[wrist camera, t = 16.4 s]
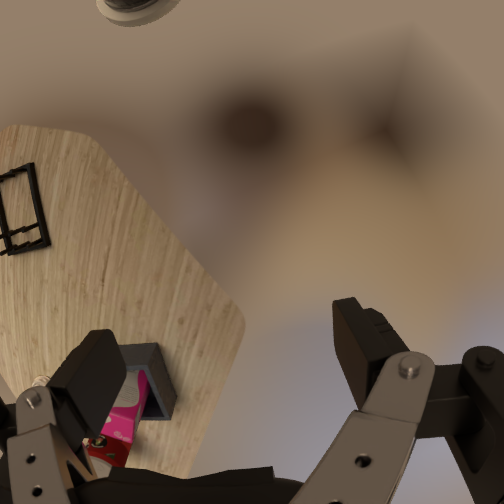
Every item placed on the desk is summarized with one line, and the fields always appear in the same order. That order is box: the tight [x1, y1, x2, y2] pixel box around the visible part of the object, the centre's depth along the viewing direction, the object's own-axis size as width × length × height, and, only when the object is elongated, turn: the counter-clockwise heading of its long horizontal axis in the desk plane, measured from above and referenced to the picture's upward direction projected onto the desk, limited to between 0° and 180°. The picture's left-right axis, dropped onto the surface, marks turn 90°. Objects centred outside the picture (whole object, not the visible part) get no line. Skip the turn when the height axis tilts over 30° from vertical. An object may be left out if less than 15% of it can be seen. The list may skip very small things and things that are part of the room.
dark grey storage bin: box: [118, 343, 177, 420], centre depth 42 cm, size 11×11×6 cm
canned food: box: [86, 433, 132, 478], centre depth 44 cm, size 8×8×11 cm
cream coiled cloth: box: [32, 376, 50, 387], centre depth 44 cm, size 8×7×5 cm
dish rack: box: [0, 163, 51, 256], centre depth 35 cm, size 12×9×4 cm
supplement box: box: [101, 370, 151, 443], centre depth 39 cm, size 6×6×12 cm
